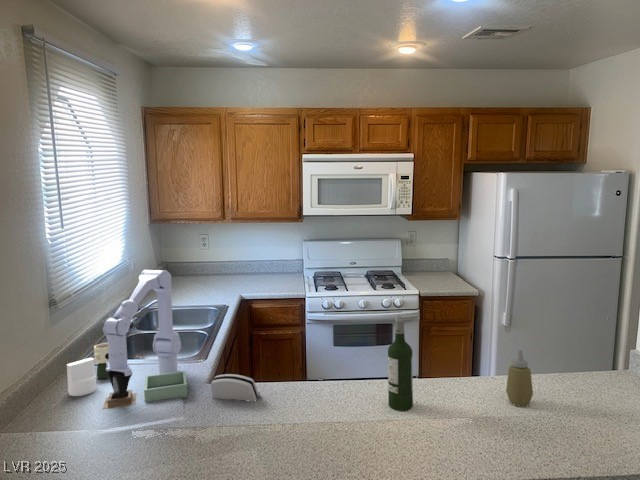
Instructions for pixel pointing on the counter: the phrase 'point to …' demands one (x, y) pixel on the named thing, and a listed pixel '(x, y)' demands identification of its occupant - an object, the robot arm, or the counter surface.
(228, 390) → the grey toaster
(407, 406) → the wine bottle
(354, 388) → the counter surface
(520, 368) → the squeeze bottle
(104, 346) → the character mug
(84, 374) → the white grooved block
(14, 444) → the counter surface
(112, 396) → the socket block
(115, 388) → the strut
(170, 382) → the bin
